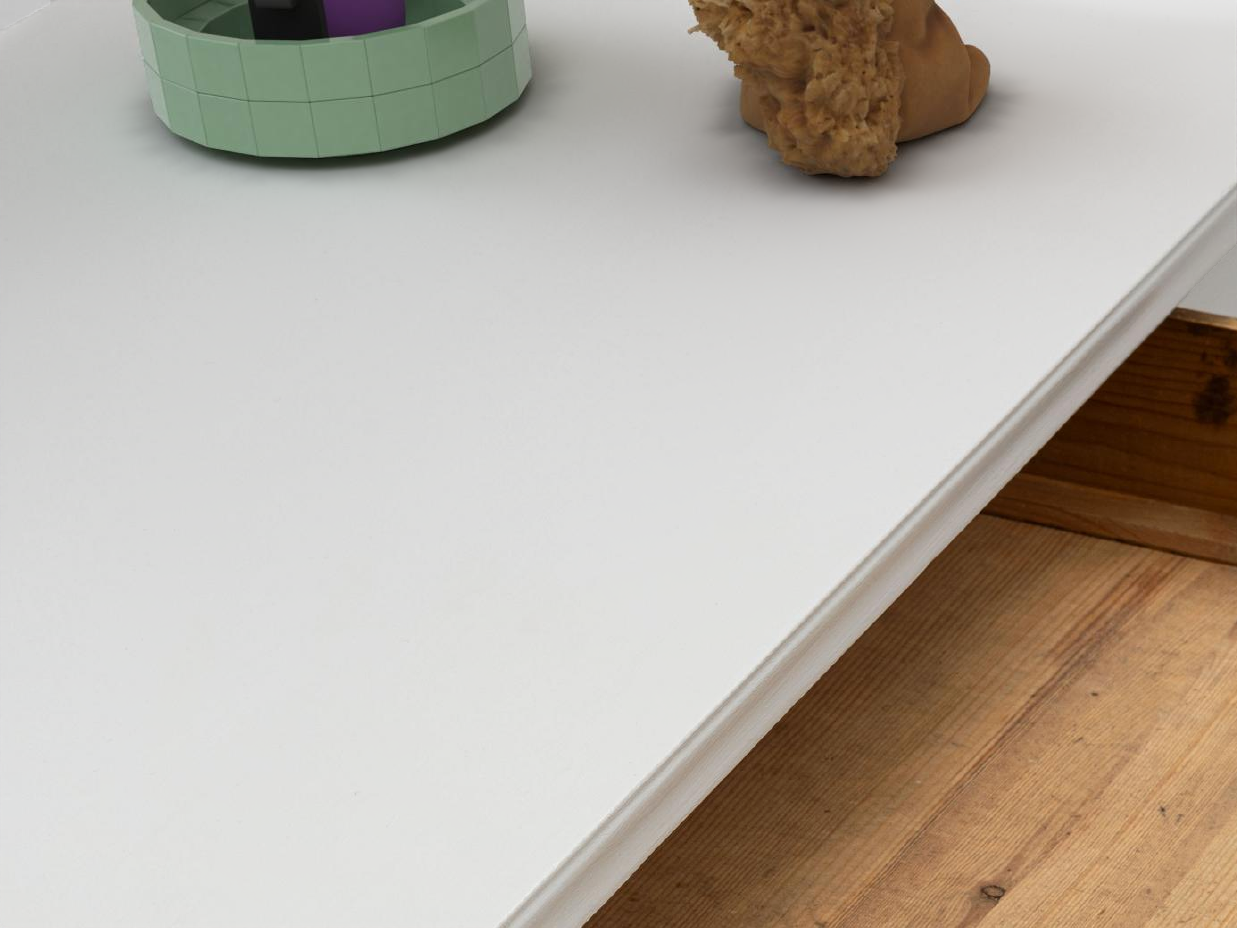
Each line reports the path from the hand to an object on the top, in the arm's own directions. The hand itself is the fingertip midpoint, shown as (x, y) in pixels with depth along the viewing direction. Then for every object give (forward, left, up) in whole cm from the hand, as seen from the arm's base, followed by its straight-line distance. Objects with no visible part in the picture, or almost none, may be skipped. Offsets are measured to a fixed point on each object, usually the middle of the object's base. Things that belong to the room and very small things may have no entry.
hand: (336, 36), depth 104 cm
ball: (0, 0, -2) cm, 2 cm away
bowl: (0, 0, -3) cm, 3 cm away
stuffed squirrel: (+21, -3, -3) cm, 21 cm away
